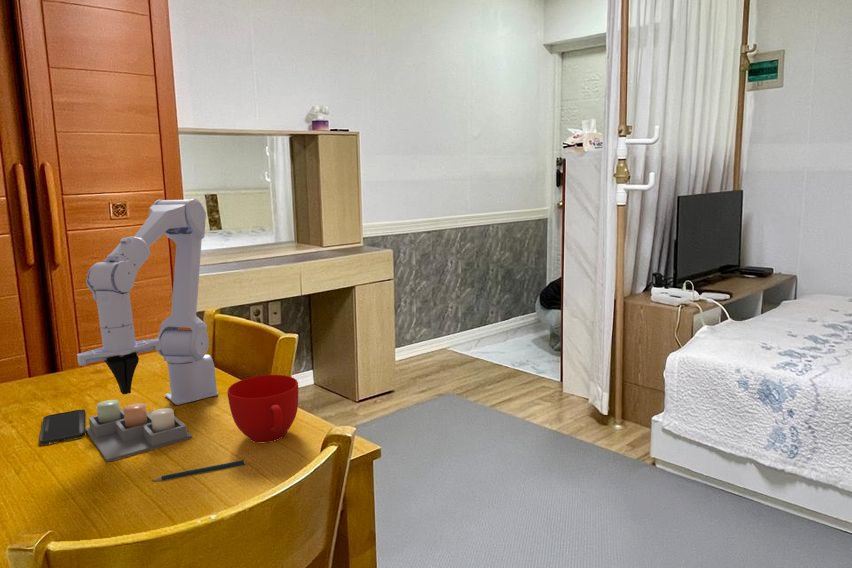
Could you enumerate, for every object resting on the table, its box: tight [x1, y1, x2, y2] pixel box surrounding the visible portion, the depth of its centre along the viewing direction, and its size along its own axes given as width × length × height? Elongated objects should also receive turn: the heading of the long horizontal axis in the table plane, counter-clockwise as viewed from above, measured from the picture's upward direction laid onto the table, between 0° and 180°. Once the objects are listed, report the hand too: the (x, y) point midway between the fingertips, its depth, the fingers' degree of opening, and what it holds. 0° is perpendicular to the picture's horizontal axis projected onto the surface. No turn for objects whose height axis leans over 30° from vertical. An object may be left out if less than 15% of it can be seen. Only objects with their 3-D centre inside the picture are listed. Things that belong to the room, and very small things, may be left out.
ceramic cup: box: [226, 374, 299, 443], centre depth 122 cm, size 13×17×10 cm
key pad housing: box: [85, 408, 193, 463], centre depth 128 cm, size 15×18×3 cm
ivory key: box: [151, 407, 175, 433], centre depth 125 cm, size 4×4×3 cm
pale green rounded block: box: [96, 399, 121, 423], centre depth 129 cm, size 4×4×3 cm
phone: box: [38, 408, 87, 445], centre depth 132 cm, size 8×1×15 cm
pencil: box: [150, 459, 245, 482], centre depth 111 cm, size 1×1×15 cm
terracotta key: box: [122, 402, 148, 427], centre depth 127 cm, size 4×4×3 cm
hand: (125, 392), depth 127 cm, fingers closed
